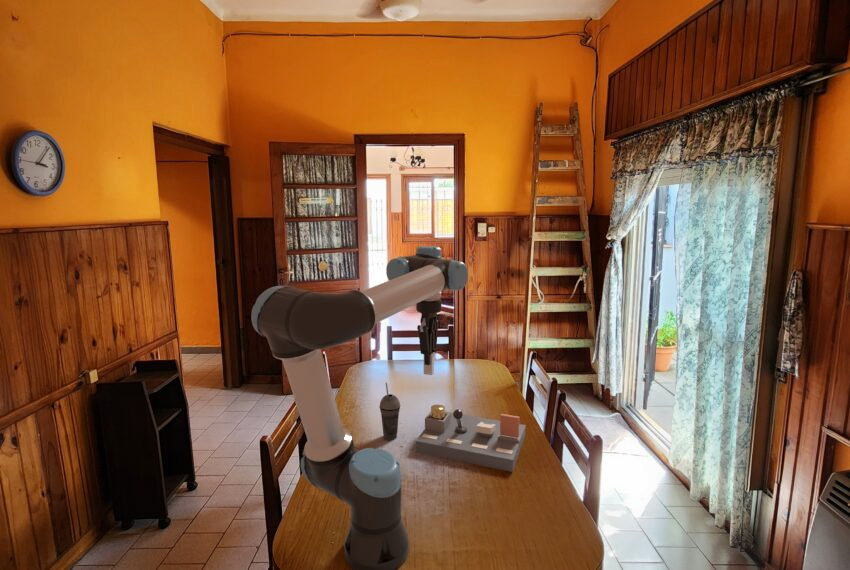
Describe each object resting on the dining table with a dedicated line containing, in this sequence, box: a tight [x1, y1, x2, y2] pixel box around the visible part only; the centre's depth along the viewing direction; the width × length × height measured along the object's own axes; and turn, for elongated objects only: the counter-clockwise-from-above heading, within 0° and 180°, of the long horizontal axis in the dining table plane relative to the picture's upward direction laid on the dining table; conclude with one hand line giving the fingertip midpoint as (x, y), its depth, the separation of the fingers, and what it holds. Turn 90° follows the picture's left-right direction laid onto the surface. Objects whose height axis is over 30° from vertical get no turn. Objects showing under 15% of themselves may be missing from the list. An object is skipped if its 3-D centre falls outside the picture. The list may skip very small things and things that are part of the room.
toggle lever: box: [452, 409, 464, 429], centre depth 156 cm, size 3×3×9 cm
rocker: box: [476, 422, 495, 434], centre depth 156 cm, size 7×5×2 cm
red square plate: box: [499, 413, 520, 438], centre depth 153 cm, size 1×6×7 cm, turn 69°
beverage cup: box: [378, 382, 401, 441], centre depth 161 cm, size 7×7×20 cm
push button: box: [430, 404, 446, 420], centre depth 162 cm, size 5×5×6 cm
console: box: [415, 411, 527, 473], centre depth 158 cm, size 24×32×8 cm
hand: (428, 373), depth 142 cm, fingers closed
